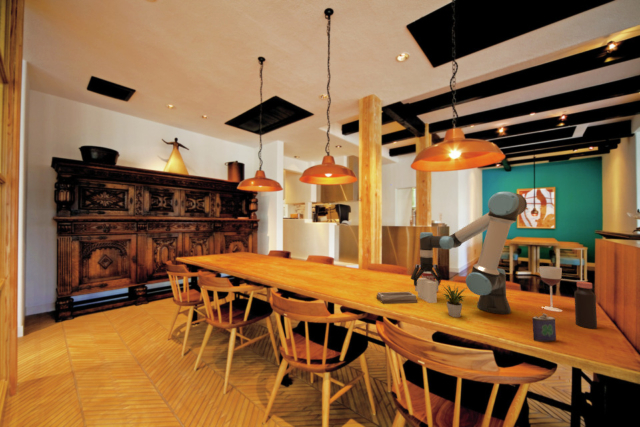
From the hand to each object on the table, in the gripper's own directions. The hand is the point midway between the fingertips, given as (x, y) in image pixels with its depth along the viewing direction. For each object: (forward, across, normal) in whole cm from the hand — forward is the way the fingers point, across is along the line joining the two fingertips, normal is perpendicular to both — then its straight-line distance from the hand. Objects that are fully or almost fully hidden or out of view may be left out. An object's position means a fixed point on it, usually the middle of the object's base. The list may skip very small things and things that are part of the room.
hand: (426, 291), depth 155 cm
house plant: (+5, +2, +27) cm, 28 cm away
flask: (+5, -18, +57) cm, 60 cm away
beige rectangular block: (+5, 0, 0) cm, 5 cm away
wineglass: (+5, -61, +23) cm, 65 cm away
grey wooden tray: (+5, +20, 0) cm, 21 cm away
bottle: (+5, -52, +46) cm, 70 cm away
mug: (+5, -13, -17) cm, 22 cm away
